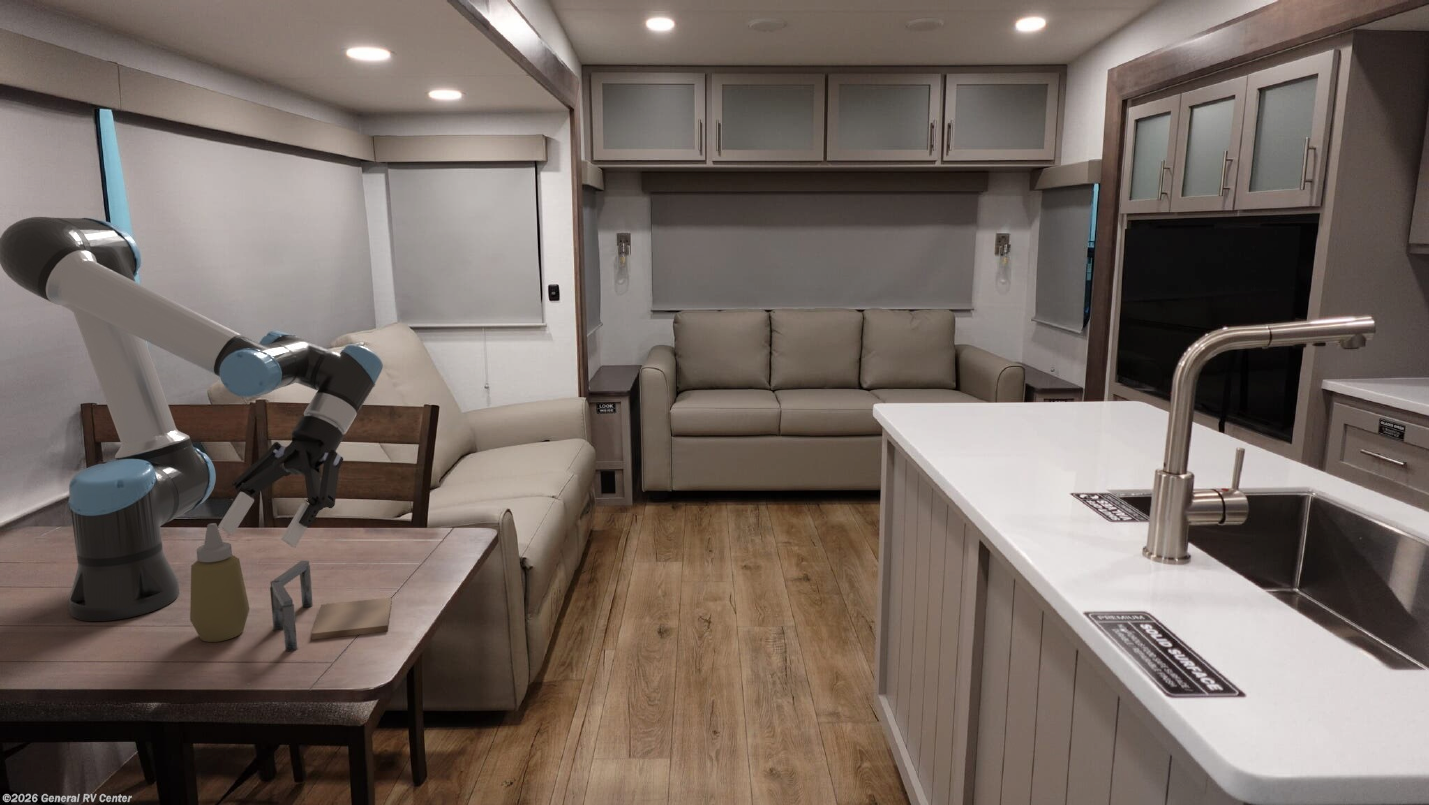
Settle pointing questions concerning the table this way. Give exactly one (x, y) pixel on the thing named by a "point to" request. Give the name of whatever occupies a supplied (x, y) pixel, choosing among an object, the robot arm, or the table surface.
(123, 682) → the table surface
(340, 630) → the pad
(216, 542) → the squeeze bottle
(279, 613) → the gray angled arch frame
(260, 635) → the table surface
